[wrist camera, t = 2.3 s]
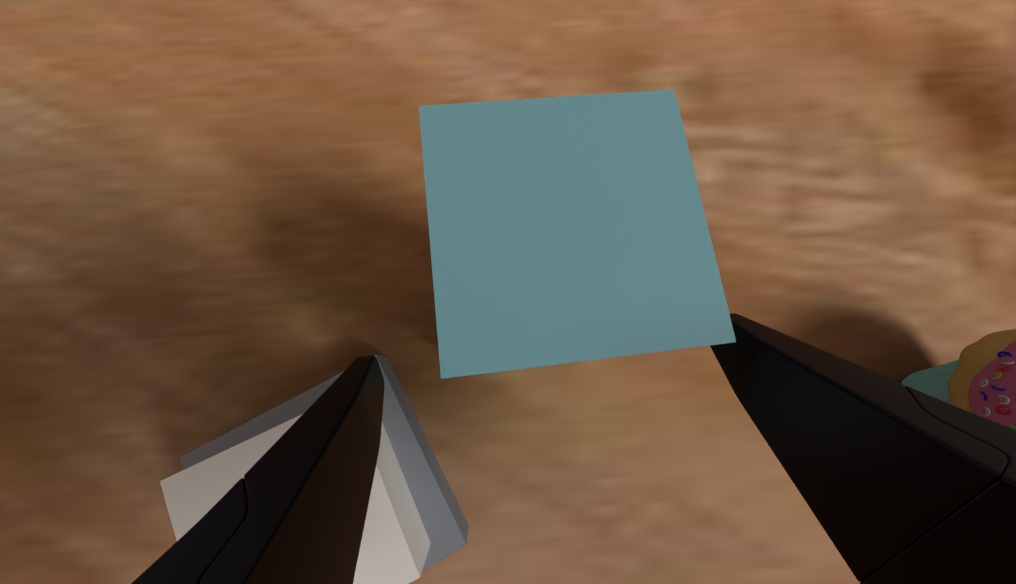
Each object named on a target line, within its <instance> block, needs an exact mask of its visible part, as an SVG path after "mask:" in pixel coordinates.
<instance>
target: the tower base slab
mask: <svg viewBox="0 0 1016 584" xmlns="http://www.w3.org/2000/svg"><path fill="white" fill-rule="evenodd" d="M374 356H375V357H376V358H377V360H378V363H379V366H380V369H381V371H382V374H383V377H384V384H385V388H384V401H383V414H382V423H383V425H384V428H385V430H386V433H387V435H388V438H389V440H390V443H391V445H392V448H393V450H394V453H395V455H396V458H397V460H398V463H399V465H400V468H401V470H402V473H403V475H404V478H405V480H406V483H407V485H408V488H409V490H410V493H411V495H412V498H413V500H414V503H415V505H416V508H417V510H418V513H419V515H420V518H421V520H422V523H423V525H424V528H425V531H426V533H427V536H428V538H429V541H430V543H431V544H430V547H429V550H428V554H427V557H426V560H425V563H424V566H423V569H422V572H423V571H424V570H426V569H427V568H429V567H431V566H432V565H434V564H435V563H437V562H438V561H440V560H442V559H443V558H445V557H446V556H448V555H450V554H451V553H453V552H454V551H456V550H457V549H459V548H461V547H462V546H464V545H465V544H466V542H467V533H468V523H467V521H466V519H465V517H464V515H463V513H462V511H461V509H460V507H459V505H458V502H457V500H456V498H455V496H454V494H453V492H452V490H451V488H450V486H449V484H448V482H447V480H446V478H445V475H444V473H443V471H442V469H441V467H440V465H439V463H438V461H437V459H436V457H435V455H434V453H433V451H432V448H431V446H430V444H429V442H428V440H427V438H426V436H425V434H424V432H423V430H422V428H421V426H420V424H419V421H418V419H417V417H416V415H415V413H414V411H413V409H412V407H411V405H410V403H409V401H408V399H407V397H406V394H405V392H404V390H403V388H402V386H401V384H400V382H399V380H398V378H397V376H396V374H395V372H394V370H393V367H392V365H391V363H390V361H389V359H388V357H387V356H385V355H377V354H376V355H374ZM343 372H344V371H343ZM343 372H341V373H339V374H338V375H336V376H334V377H332V378H330V379H328V380H326V381H324V382H322V383H320V384H318V385H317V386H315V387H313V388H311V389H309V390H307V391H305V392H303V393H301V394H299V395H297V396H296V397H294V398H292V399H290V400H288V401H286V402H284V403H282V404H280V405H278V406H276V407H275V408H273V409H271V410H269V411H267V412H265V413H263V414H261V415H259V416H257V417H255V418H254V419H252V420H250V421H248V422H246V423H244V424H242V425H240V426H238V427H236V428H234V429H233V430H231V431H229V432H227V433H225V434H223V435H221V436H219V437H217V438H215V439H213V440H212V441H210V442H208V443H206V444H204V445H202V446H200V447H198V448H196V449H194V450H193V451H191V452H189V453H187V454H185V455H183V456H181V457H179V460H180V463H181V465H182V468H183V470H185V469H187V468H189V467H191V466H193V465H195V464H198V463H200V462H202V461H204V460H206V459H208V458H210V457H212V456H215V455H217V454H219V453H221V452H223V451H225V450H227V449H229V448H231V447H234V446H236V445H238V444H240V443H242V442H244V441H246V440H248V439H251V438H253V437H255V436H257V435H259V434H261V433H263V432H265V431H268V430H270V429H272V428H274V427H276V426H278V425H280V424H282V423H285V422H287V421H289V420H291V419H293V418H295V417H297V416H299V415H302V414H303V413H304V412H305V411H306V410H307V409H308V408H309V407H310V406H311V405H312V404H313V403H314V402H315V401H316V400H317V399H318V398H319V397H320V396H321V395H322V394H323V393H324V392H325V391H326V390H327V389H328V388H329V386H330V385H331V384H332V383H333V382H334V381H335V380H336V379H337V378H338V377H339V376H340V375H341V374H342V373H343Z"/></svg>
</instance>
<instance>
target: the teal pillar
mask: <svg viewBox="0 0 1016 584" xmlns="http://www.w3.org/2000/svg"><path fill="white" fill-rule="evenodd" d="M419 114H420V127H421V139H422V151H423V164H424V176H425V188H426V201H427V213H428V225H429V238H430V250H431V262H432V275H433V287H434V299H435V312H436V324H437V336H438V349H439V361H440V374H441V379H444V378H452V377H460V376H468V375H476V374H485V373H493V372H501V371H509V370H517V369H525V368H533V367H541V366H549V365H557V364H565V363H573V362H581V361H589V360H597V359H605V358H613V357H621V356H629V355H637V354H645V353H653V352H661V351H669V350H677V349H686V348H694V347H702V346H710V345H718V344H726V343H734V342H736V339H735V335H734V330H733V326H732V322H731V318H730V314H729V310H728V306H727V302H726V298H725V294H724V290H723V286H722V282H721V278H720V274H719V270H718V266H717V262H716V257H715V253H714V249H713V245H712V241H711V237H710V233H709V229H708V225H707V221H706V217H705V213H704V209H703V205H702V201H701V197H700V193H699V188H698V184H697V180H696V176H695V172H694V168H693V164H692V160H691V156H690V152H689V148H688V144H687V140H686V136H685V132H684V128H683V124H682V119H681V115H680V111H679V107H678V103H677V99H676V95H675V91H674V90H658V91H643V92H628V93H612V94H597V95H582V96H566V97H551V98H535V99H520V100H505V101H489V102H474V103H458V104H443V105H428V106H419Z"/></svg>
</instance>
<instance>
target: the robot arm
mask: <svg viewBox="0 0 1016 584" xmlns="http://www.w3.org/2000/svg"><path fill="white" fill-rule="evenodd" d="M730 318H731V322H732V326H733V330H734V335H735V339H736V342H734V343H726V344H718V345H710V346H711V348H712V350H713V352H714V354H715V356H716V358H717V360H718V362H719V364H720V366H721V368H722V370H723V371H724V373H725V375H726V377H727V379H728V381H729V383H730V385H731V387H732V389H733V390H734V392H735V394H736V396H737V397H738V399H739V401H740V402H741V404H742V405H743V407H744V408H745V410H746V411H747V413H748V414H749V416H750V417H751V419H752V420H753V422H754V424H755V425H756V427H757V428H758V430H759V431H760V433H761V434H762V436H763V437H764V439H765V440H766V442H767V443H768V445H769V446H770V448H771V449H772V451H773V452H774V454H775V455H776V457H777V458H778V460H779V461H780V463H781V465H782V466H783V468H784V469H785V471H786V472H787V474H788V475H789V477H790V478H791V480H792V481H793V483H794V484H795V486H796V487H797V489H798V490H799V492H800V493H801V495H802V496H803V498H804V499H805V501H806V502H807V504H808V506H809V507H810V509H811V510H812V512H813V513H814V515H815V516H816V518H817V519H818V521H819V522H820V524H821V525H822V527H823V528H824V530H825V531H826V533H827V534H828V536H829V537H830V539H831V540H832V542H833V543H834V545H835V547H836V548H837V550H838V551H839V553H840V554H841V556H842V557H843V559H844V560H845V562H846V563H847V565H848V566H849V568H850V569H851V571H852V572H853V574H854V575H855V577H856V578H857V580H858V581H859V582H860V584H1016V429H1013V428H1010V427H1008V426H1005V425H1003V424H1000V423H997V422H995V421H992V420H990V419H987V418H984V417H982V416H979V415H977V414H974V413H972V412H969V411H966V410H964V409H961V408H959V407H956V406H954V405H952V404H949V403H947V402H944V401H942V400H939V399H937V398H935V397H932V396H930V395H927V394H925V393H923V392H920V391H918V390H916V389H913V388H911V387H909V386H904V385H903V384H901V383H899V382H896V381H894V380H892V379H889V378H887V377H885V376H882V375H880V374H878V373H875V372H873V371H870V370H868V369H866V368H863V367H861V366H859V365H856V364H854V363H852V362H849V361H847V360H844V359H842V358H840V357H837V356H835V355H833V354H830V353H828V352H826V351H823V350H821V349H818V348H816V347H814V346H811V345H809V344H807V343H804V342H802V341H800V340H797V339H795V338H793V337H790V336H788V335H785V334H783V333H781V332H778V331H776V330H774V329H771V328H769V327H767V326H764V325H762V324H759V323H757V322H755V321H752V320H750V319H748V318H745V317H743V316H741V315H738V314H735V313H731V314H730ZM384 388H385V384H384V377H383V374H382V371H381V369H380V366H379V363H378V360H377V358H376V357H375V356H373V355H371V356H362V357H358V358H357V359H356V360H355V361H354V362H353V363H352V364H351V365H350V366H349V367H348V368H347V369H346V370H345V371H344V372H343V373H342V374H341V375H340V376H339V377H338V378H337V379H336V380H335V381H334V382H333V383H332V384H331V385H330V386H329V388H328V389H327V390H326V391H325V392H324V393H323V394H322V395H321V396H320V397H319V398H318V399H317V400H316V401H315V402H314V403H313V404H312V405H311V406H310V407H309V408H308V409H307V410H306V411H305V412H304V413H303V415H302V416H301V417H300V418H299V419H298V420H297V421H296V422H295V423H294V424H293V425H292V426H291V427H290V428H289V429H288V430H287V431H286V432H285V433H284V434H283V435H282V436H281V437H280V438H279V439H278V440H277V441H276V443H275V444H274V445H273V446H272V447H271V448H270V449H269V450H268V451H267V452H266V453H265V454H264V455H263V456H262V457H261V458H260V459H259V460H258V461H257V462H256V463H255V464H254V465H253V466H252V467H251V468H250V469H249V471H248V472H247V473H246V474H245V475H244V478H241V479H240V480H239V481H238V482H237V483H236V484H235V485H234V486H233V487H232V488H231V489H230V490H229V491H228V492H227V493H226V494H225V495H224V496H223V497H222V498H221V499H220V500H219V501H218V502H217V503H216V504H215V505H214V506H213V507H212V508H211V509H210V510H209V511H208V512H207V513H206V514H205V515H204V516H203V517H202V518H201V519H200V520H199V521H198V522H197V523H196V524H195V525H194V526H193V527H192V528H191V529H190V530H189V531H188V532H187V533H186V534H185V535H183V536H182V537H181V538H180V539H179V540H178V541H177V542H176V543H175V544H174V545H173V546H172V547H171V548H170V549H169V550H168V551H166V552H165V553H164V554H163V555H162V556H161V557H160V558H159V559H158V560H157V561H156V562H154V563H153V564H152V565H151V566H150V567H149V568H148V569H147V570H146V571H145V572H144V573H142V574H141V575H140V576H139V577H138V578H137V579H136V580H135V581H134V582H133V583H132V584H353V581H354V576H355V571H356V565H357V560H358V555H359V550H360V545H361V540H362V535H363V530H364V525H365V520H366V514H367V509H368V504H369V499H370V494H371V489H372V484H373V479H374V474H375V469H376V464H377V458H378V453H379V447H380V439H381V427H382V414H383V401H384Z"/></svg>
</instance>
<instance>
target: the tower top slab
mask: <svg viewBox="0 0 1016 584" xmlns="http://www.w3.org/2000/svg"><path fill="white" fill-rule="evenodd" d="M302 415H303V414H302ZM302 415H299V416H297V417H295V418H293V419H291V420H289V421H287V422H285V423H282V424H280V425H278V426H276V427H274V428H272V429H270V430H268V431H265V432H263V433H261V434H259V435H257V436H255V437H253V438H251V439H248V440H246V441H244V442H242V443H240V444H238V445H236V446H234V447H231V448H229V449H227V450H225V451H223V452H221V453H219V454H217V455H215V456H212V457H210V458H208V459H206V460H204V461H202V462H200V463H198V464H195V465H193V466H191V467H189V468H187V469H185V470H183V471H181V472H178V473H176V474H174V475H172V476H170V477H168V478H166V479H164V480H161V481H160V484H161V488H162V491H163V495H164V498H165V502H166V505H167V509H168V512H169V516H170V519H171V523H172V526H173V530H174V533H175V537H176V540H177V541H178V540H179V539H180V538H181V537H182V536H183V535H185V534H186V533H187V532H188V531H189V530H190V529H191V528H192V527H193V526H194V525H195V524H196V523H197V522H198V521H199V520H200V519H201V518H202V517H203V516H204V515H205V514H206V513H207V512H208V511H209V510H210V509H211V508H212V507H213V506H214V505H215V504H216V503H217V502H218V501H219V500H220V499H221V498H222V497H223V496H224V495H225V494H226V493H227V492H228V491H229V490H230V489H231V488H232V487H233V486H234V485H235V484H236V483H237V482H238V481H239V480H240V479H241V478H244V475H245V474H246V473H247V472H248V471H249V469H250V468H251V467H252V466H253V465H254V464H255V463H256V462H257V461H258V460H259V459H260V458H261V457H262V456H263V455H264V454H265V453H266V452H267V451H268V450H269V449H270V448H271V447H272V446H273V445H274V444H275V443H276V441H277V440H278V439H279V438H280V437H281V436H282V435H283V434H284V433H285V432H286V431H287V430H288V429H289V428H290V427H291V426H292V425H293V424H294V423H295V422H296V421H297V420H298V419H299V418H300V417H301V416H302ZM430 544H431V543H430V541H429V538H428V536H427V533H426V531H425V528H424V525H423V523H422V520H421V518H420V515H419V513H418V510H417V508H416V505H415V503H414V500H413V498H412V495H411V493H410V490H409V488H408V485H407V483H406V480H405V478H404V475H403V473H402V470H401V468H400V465H399V463H398V460H397V458H396V455H395V453H394V450H393V448H392V445H391V443H390V440H389V438H388V435H387V433H386V430H385V428H384V425H383V423H382V427H381V439H380V447H379V453H378V458H377V464H376V469H375V474H374V479H373V484H372V489H371V494H370V499H369V504H368V509H367V514H366V520H365V525H364V530H363V535H362V540H361V545H360V550H359V555H358V560H357V565H356V571H355V576H354V581H353V584H409V583H411V582H413V581H414V580H416V579H418V578H420V576H421V572H422V569H423V566H424V563H425V560H426V557H427V554H428V550H429V547H430Z"/></svg>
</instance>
